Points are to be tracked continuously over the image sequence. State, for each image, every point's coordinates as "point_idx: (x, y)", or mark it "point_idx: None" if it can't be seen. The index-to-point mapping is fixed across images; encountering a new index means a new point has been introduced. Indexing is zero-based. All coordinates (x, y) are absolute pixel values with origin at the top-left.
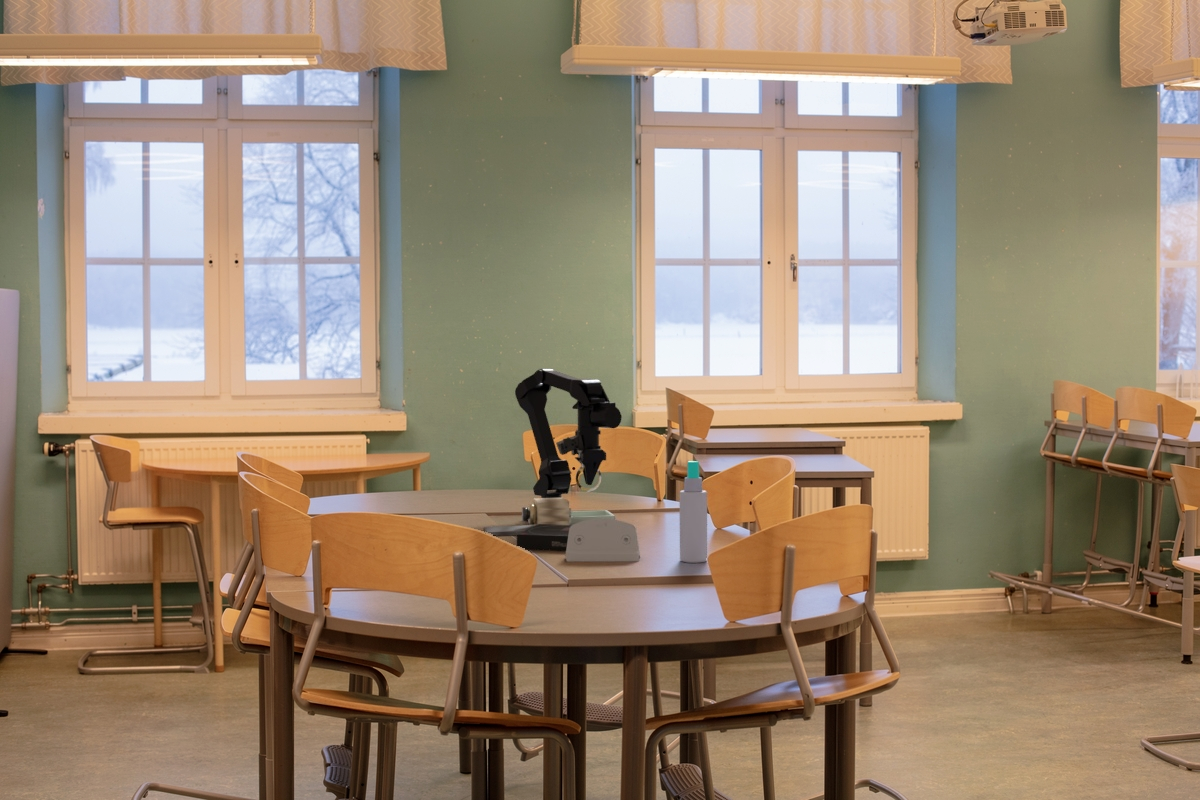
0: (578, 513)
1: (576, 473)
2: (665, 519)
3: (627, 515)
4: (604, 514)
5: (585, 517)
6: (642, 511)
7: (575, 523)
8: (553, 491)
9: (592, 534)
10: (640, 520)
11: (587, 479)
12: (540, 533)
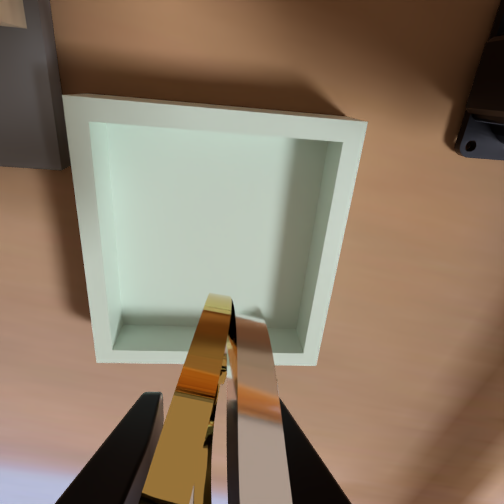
0: (324, 215)
1: (238, 419)
2: (220, 497)
3: (370, 419)
4: (299, 339)
5: (77, 204)
6: (435, 472)
7: (51, 121)
8: None
9: None
10: (223, 433)
11: (101, 451)
12: None
